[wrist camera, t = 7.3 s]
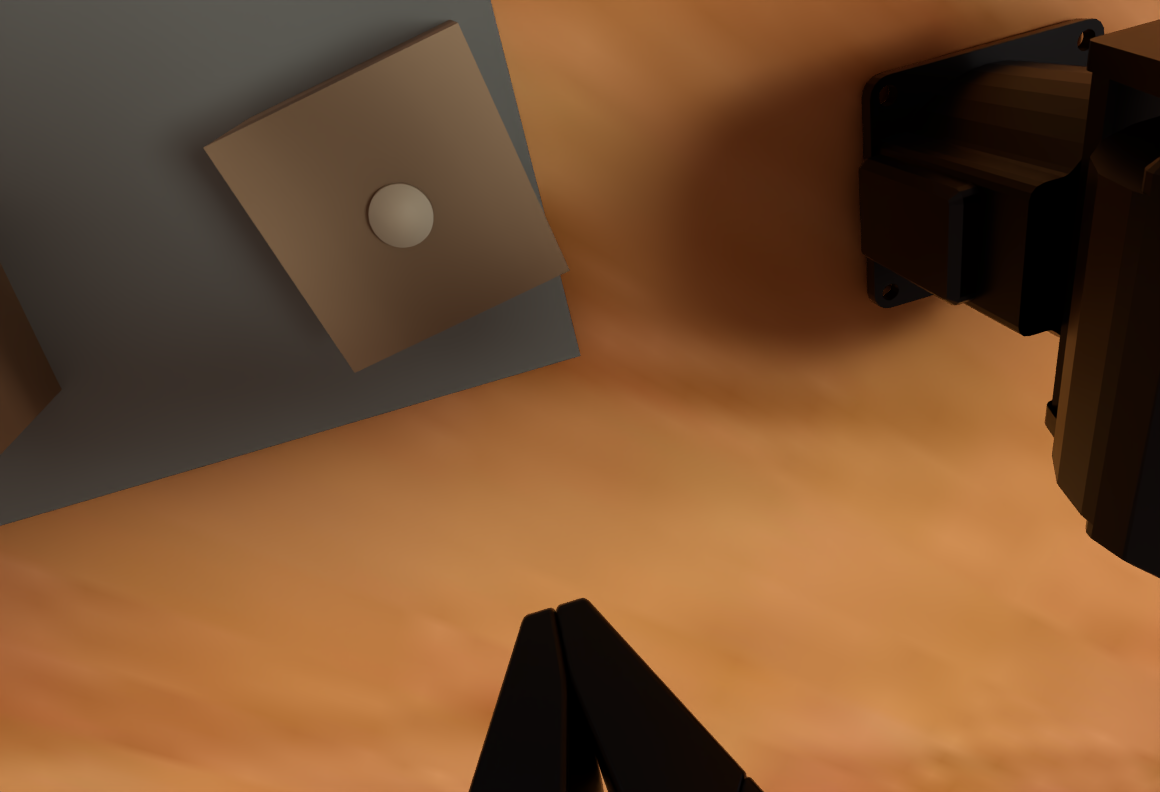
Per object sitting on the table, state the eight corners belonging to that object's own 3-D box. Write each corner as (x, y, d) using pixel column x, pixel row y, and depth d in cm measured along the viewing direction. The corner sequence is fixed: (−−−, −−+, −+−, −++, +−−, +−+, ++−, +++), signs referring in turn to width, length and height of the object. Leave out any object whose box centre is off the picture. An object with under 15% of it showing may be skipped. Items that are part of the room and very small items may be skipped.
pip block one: (450, 19, 16) (458, 22, 13) (542, 221, 19) (571, 273, 15) (249, 118, 16) (200, 149, 13) (367, 305, 19) (353, 377, 15)
